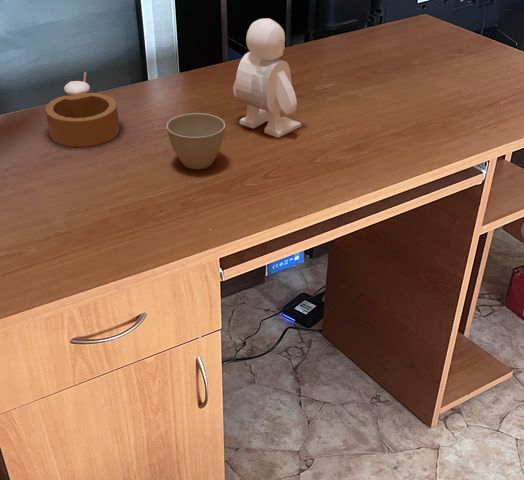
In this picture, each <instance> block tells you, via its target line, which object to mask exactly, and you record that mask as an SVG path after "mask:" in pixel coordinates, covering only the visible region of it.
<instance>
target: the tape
mask: <svg viewBox="0 0 524 480" xmlns="http://www.w3.org/2000/svg"><path fill="white" fill-rule="evenodd" d="M90 110H91V117H85V118H72V117H71V113H70V108H69V105H68V101H67V97H66V94H65V95H62V96H58V97H56V98H54V99H53V100H51V101H50V102H48V103H47V104H46V106H45V110H44V111H45V116H46V121H47V127H48V134H49V136H50V138H51V140H52V141H53V142H54V143H56V144H58V145H62V146H65V147H70V148H89V147H95V146H99V145H102V144H105V143H108V142H110V141H112V140H114V139H115V138H116V137H117V136H118V134H119V133H120V122H119V113H118V105H117V102H116V100H115V99H114V98H113V97H112V96H111V97H110V96H109V95H108V94H107V95H106V94H102V93H98V92H90Z"/></svg>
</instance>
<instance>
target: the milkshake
mask: <svg viewBox="0 0 524 480" xmlns="http://www.w3.org/2000/svg"><path fill="white" fill-rule="evenodd" d="M82 78H83V80H82V81H81V80H71V81H69V82H68V83H66V84H65V85H64V87H63V90H64V93H65V95H66V97H67V101H68V105H69V108H70V113H71V117H72V118H85V117H91V110H90V93H91V87H90V84H88V82H86V80H87V79H86V78H87V71H83V77H82Z"/></svg>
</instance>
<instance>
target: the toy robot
mask: <svg viewBox="0 0 524 480" xmlns="http://www.w3.org/2000/svg"><path fill="white" fill-rule="evenodd" d="M245 42H246V47H247V49H248V51H247V52H246V53H244V55H243V56H242V58H241V59H240V61H239V64H238V66H237V69H236V70H237V71H236V76H235V81H234V83H233V87H232V92H233V95H234V97H235V98H237V100H238V101H239V102H240V103H243V104H245V105H247V107H246V115H245V116H244V117H242V118H240V119H239V121H238V123H239V125H242V126H245V127H247V128H250V129H256V128H257V127H259V126H261V125H262V124H264V123H266V122H267V124H266V126H265V127H264V131H263V132H264V134H267V135H270V136H273V137H275V138H281V137H283V136H285V135H287V134H289V133H290V132H294V131H295V130H296V129H298V128H301V127H302V122H299V121H297V120H294V119H292V118H289V117H286V116H281V111H283V113H284V114H286V115H292V114H294V113H295V112H296V110H297V105H298V101H297V96H296V93H295V90H294V87H293V85H292V75H291V74H292V73H291V68H290V65H289V63H288V62H287V61H286V60H282V59H279V58H281V57H283V55H284V51H285V48H286V46H285V45H286V44H285V43H286V35H285V31H284V29H283V27H282V26H281V25H280V24H279V23H278V22H276V21H275V20H273V19H271V18H259V19H257V20H255V21H253V22H252V23H251V24H250V25H249V28H248V29H247V32H246V37H245Z"/></svg>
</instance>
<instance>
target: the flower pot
mask: <svg viewBox="0 0 524 480" xmlns="http://www.w3.org/2000/svg"><path fill="white" fill-rule="evenodd" d="M165 126H166V132H167V136H168V138H169V141H170V145H171V147H172V149H173V151H174V153H175V155H176V157H177V158H178V159H179V161H180V162H181V163H182V165H183V166H184V167H185V168H187V169H191V170H202V169H207V168H209V167H210V166H212V164H213V163H214V161H215V159H216V158H217V156H218V154H219V152H220V149H221V147H222V144H223V141H224V136H225V132H226V131H225V130H226V123H225V121H224V120H223V119H222V118H221V117H220V116H219V117H218V116H217V115H213V114H210V113H205V112H204V113H203V112H192V113H191V112H190V113H184V114H180V115H179V114H178V115H177V116H174V117H172V118H171V119H170V120H168V121H167V123H166V125H165Z"/></svg>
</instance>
